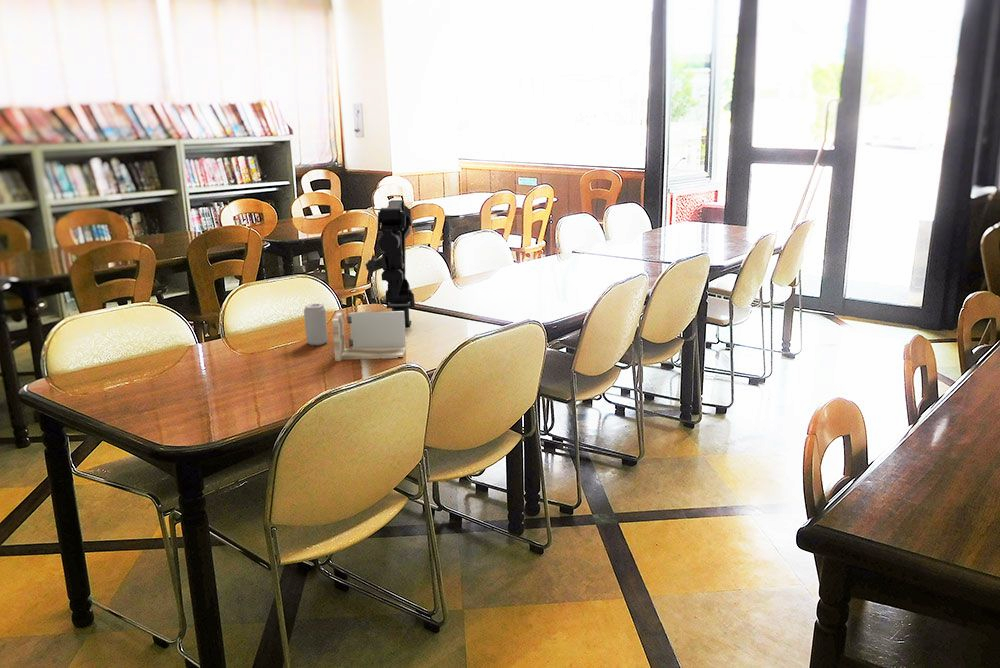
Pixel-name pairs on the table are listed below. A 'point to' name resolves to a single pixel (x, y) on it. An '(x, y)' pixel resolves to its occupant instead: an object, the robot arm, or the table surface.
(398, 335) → the cabinet door
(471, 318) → the table surface
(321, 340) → the beverage can
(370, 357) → the cabinet corner
